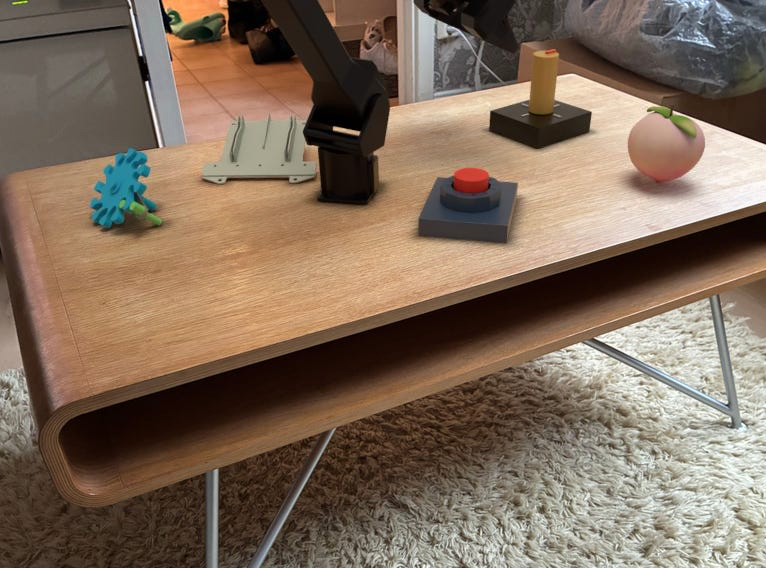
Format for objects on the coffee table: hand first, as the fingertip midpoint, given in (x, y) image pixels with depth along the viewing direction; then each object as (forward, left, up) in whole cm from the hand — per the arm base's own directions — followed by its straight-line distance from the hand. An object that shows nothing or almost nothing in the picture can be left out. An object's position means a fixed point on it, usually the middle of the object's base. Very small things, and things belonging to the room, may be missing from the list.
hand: (498, 42), depth 103 cm
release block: (0, -26, -13) cm, 30 cm away
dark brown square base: (+6, +5, -13) cm, 15 cm away
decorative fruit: (+22, -12, -14) cm, 29 cm away
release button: (0, -26, -10) cm, 28 cm away
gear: (-40, -34, -14) cm, 54 cm away
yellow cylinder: (+6, +5, -10) cm, 13 cm away
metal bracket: (-30, -14, -14) cm, 36 cm away
